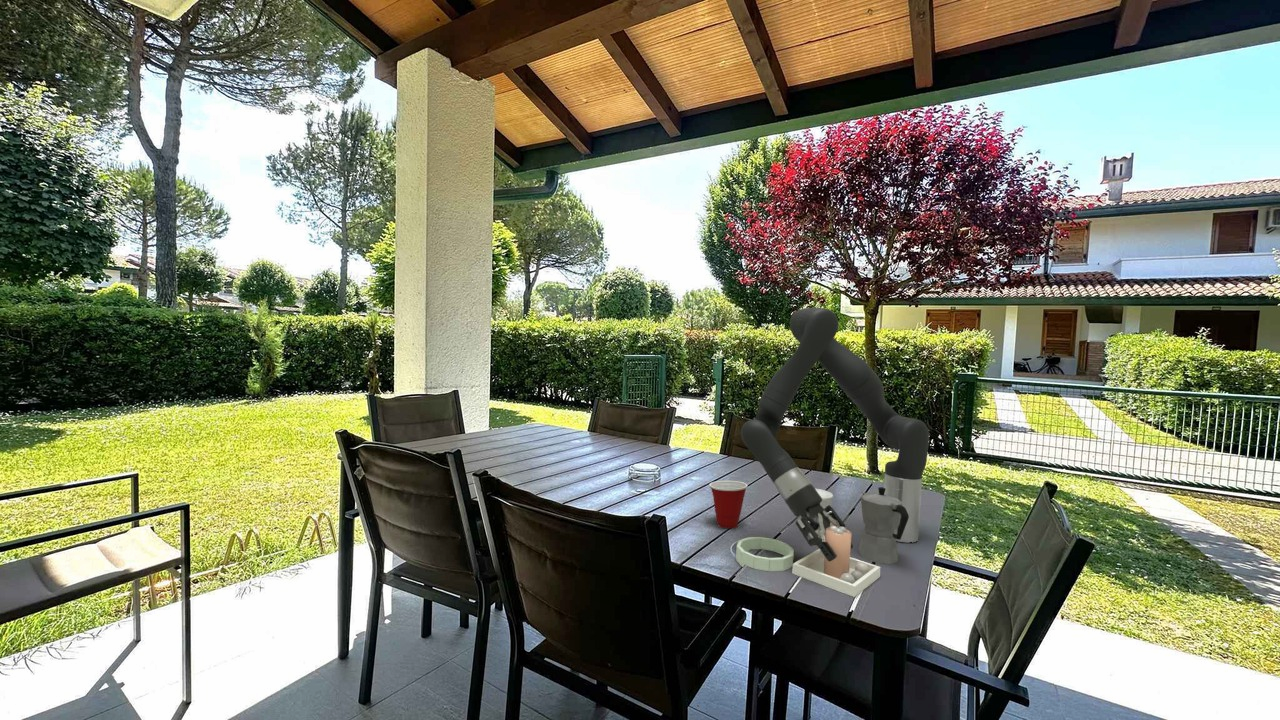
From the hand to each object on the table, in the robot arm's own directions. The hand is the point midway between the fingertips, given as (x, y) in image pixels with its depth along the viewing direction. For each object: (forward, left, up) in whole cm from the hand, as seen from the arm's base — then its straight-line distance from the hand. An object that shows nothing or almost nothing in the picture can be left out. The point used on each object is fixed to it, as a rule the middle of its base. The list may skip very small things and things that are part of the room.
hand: (841, 554), depth 116 cm
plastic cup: (-23, -30, -6) cm, 39 cm away
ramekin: (-50, -7, -6) cm, 51 cm away
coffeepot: (-15, +10, -6) cm, 19 cm away
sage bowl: (-2, -17, -6) cm, 18 cm away
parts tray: (0, -1, -6) cm, 6 cm away
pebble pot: (0, -1, -5) cm, 5 cm away
